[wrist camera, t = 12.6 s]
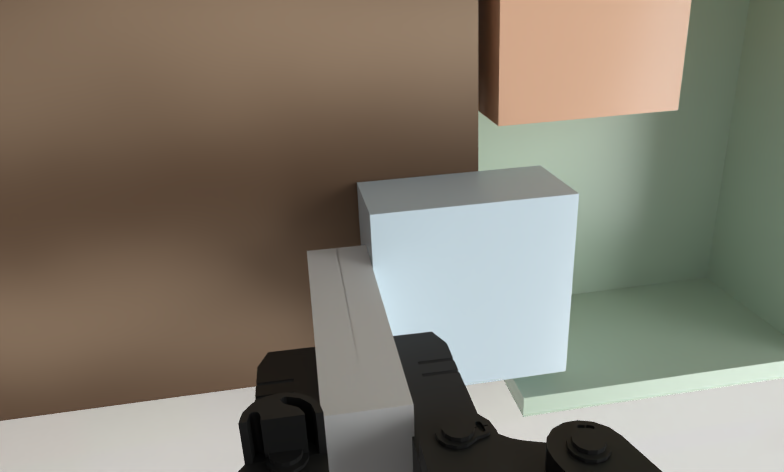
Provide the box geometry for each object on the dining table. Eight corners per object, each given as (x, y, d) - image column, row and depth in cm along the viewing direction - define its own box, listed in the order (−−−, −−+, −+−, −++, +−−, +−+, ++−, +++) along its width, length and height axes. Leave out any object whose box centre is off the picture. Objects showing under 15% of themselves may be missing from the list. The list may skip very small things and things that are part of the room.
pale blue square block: (356, 182, 17) (369, 215, 15) (540, 165, 18) (579, 193, 15) (367, 347, 19) (380, 397, 17) (532, 325, 20) (565, 371, 17)
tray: (465, -136, 17) (543, -176, 12) (778, -149, 18) (970, -191, 13) (468, 313, 23) (523, 416, 17) (709, 282, 24) (827, 371, 19)
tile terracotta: (473, -82, 17) (501, -89, 15) (651, -91, 18) (703, -98, 16) (473, 107, 19) (498, 126, 17) (634, 93, 20) (677, 110, 18)
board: (-127, -97, 16) (-214, -109, 13) (447, -122, 17) (477, -138, 14) (24, 362, 21) (-15, 422, 18) (454, 307, 22) (478, 356, 20)
